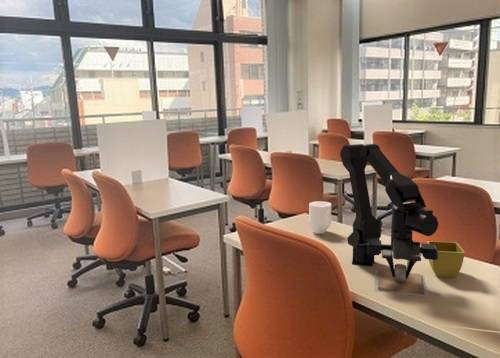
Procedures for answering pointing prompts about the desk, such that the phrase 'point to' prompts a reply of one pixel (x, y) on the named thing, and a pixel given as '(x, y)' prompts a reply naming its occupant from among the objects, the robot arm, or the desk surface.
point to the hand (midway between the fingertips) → (399, 277)
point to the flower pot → (447, 259)
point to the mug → (320, 216)
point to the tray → (400, 292)
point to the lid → (400, 281)
